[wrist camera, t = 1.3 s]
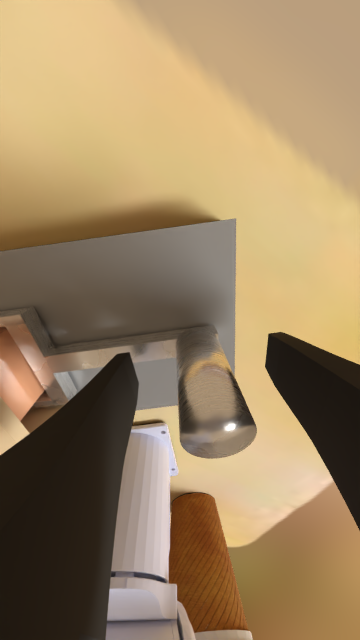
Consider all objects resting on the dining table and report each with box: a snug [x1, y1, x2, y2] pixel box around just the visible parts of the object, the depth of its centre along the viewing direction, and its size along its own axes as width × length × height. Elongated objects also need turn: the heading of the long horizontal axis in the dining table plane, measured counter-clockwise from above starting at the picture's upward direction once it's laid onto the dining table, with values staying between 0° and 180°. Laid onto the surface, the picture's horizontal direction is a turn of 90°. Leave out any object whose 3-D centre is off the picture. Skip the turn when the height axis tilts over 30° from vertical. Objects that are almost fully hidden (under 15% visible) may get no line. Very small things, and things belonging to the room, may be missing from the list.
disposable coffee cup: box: [168, 493, 253, 640], centre depth 21 cm, size 10×10×12 cm
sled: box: [0, 307, 257, 458], centre depth 8 cm, size 18×6×6 cm, turn 97°
